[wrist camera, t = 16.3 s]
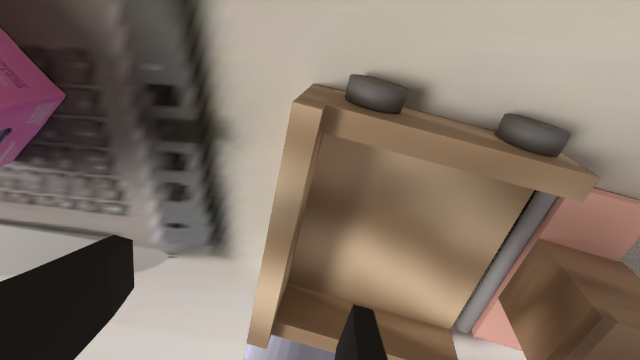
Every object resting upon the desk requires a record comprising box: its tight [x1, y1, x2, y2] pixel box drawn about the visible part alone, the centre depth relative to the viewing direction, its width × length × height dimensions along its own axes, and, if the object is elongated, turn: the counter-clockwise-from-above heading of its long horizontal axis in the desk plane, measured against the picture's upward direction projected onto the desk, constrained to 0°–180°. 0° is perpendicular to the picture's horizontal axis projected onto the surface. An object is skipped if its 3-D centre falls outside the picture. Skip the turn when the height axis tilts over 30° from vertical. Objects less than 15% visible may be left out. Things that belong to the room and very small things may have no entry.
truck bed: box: [247, 74, 600, 360], centre depth 17 cm, size 16×13×5 cm
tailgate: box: [456, 188, 640, 351], centre depth 19 cm, size 11×1×6 cm
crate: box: [498, 238, 640, 360], centre depth 16 cm, size 5×5×6 cm
